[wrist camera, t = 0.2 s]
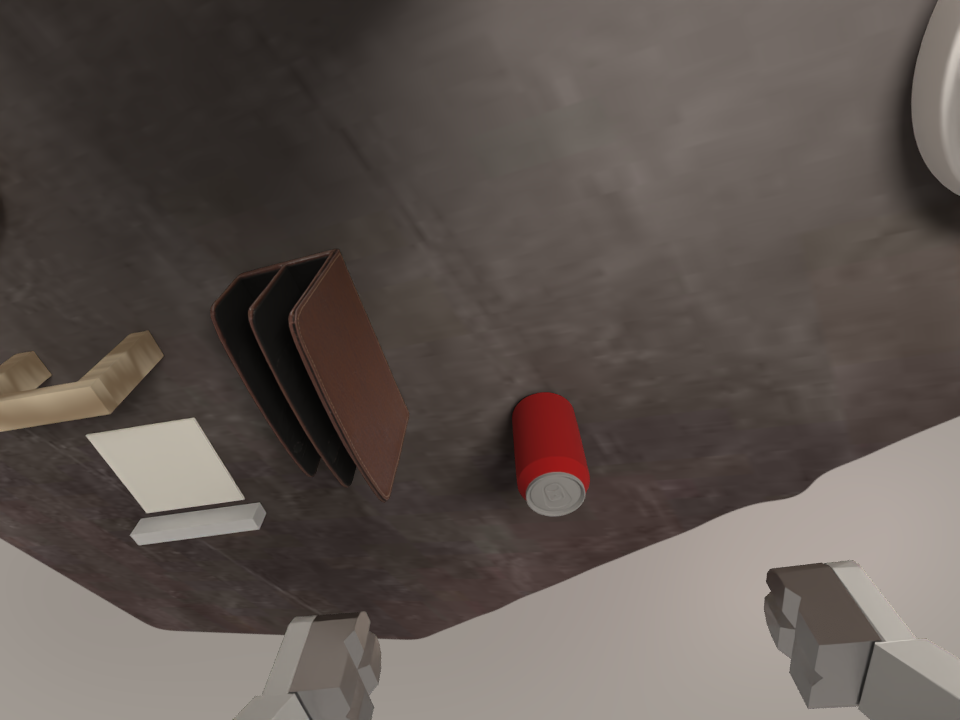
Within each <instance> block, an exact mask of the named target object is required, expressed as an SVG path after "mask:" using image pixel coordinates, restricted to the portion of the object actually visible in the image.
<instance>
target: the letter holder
mask: <svg viewBox="0 0 960 720" xmlns="http://www.w3.org/2000/svg"><path fill="white" fill-rule="evenodd" d="M210 314H211V319H212V322H213V325H214V327H215V330H216V332H217V334H218V337H219V339H220V341H221V343H222V345H223V346H224V348H225V350H226V352H227V354H228V356H229V358H230V359H231V361H232V363H233V365H234V367H235V368H236V370H237V372H238V374H239V375H240V377H241V379H242V381H243V383H244V384H245V386H246V388H247V390H248V391H249V393H250V395H251V396H252V398H253V399H254V401H255V403H256V404H257V406H258V408H259V409H260V411H261V412H262V414H263V416H264V417H265V419H266V420H267V422H268V424H269V425H270V427H271V428H272V430H273V431H274V433H275V434H276V436H277V438H278V439H279V441H280V442H281V443H282V445H283V446H284V448H285V449H286V451H287V452H288V454H289V455H290V456H291V458H292V459H293V460H294V462H295V463H296V464H297V465H298V466H299V468H300V469H301V470H302V471H303V472H304V473H305V474H306V475H307V476H309V477H313V476H314V475H315V473H316V471H317V467H318V464H319V461H320V458H322V459H323V461H324V462H325V464H326V465H327V467H328V468H329V469H330V471H331V472H332V473H333V475H334V476H335V477H336V478H337V480H338V481H339V482H340V484H341V485H342V486H344V487H349V486H350V485H351V483H352V480H353V477H354V473H355V469H356V466H357V468H358V469H359V471H360V473H361V474H362V476H363V477H364V479H365V480H366V482H367V483H368V485H369V486H370V488H371V489H372V491H373V492H374V494H375V495H376V496H377V498H378V499H379V500H380V501H382V502H386V501H387V500H388V499H389V498H390V494H391V490H392V486H393V481H394V478H395V473H396V470H397V467H398V463H399V459H400V455H401V450H402V445H403V440H404V436H405V432H406V428H407V423H408V420H409V412H408V409H407V407H406V405H405V403H404V400H403V398H402V396H401V394H400V392H399V389H398V387H397V385H396V382H395V380H394V378H393V375H392V373H391V371H390V368H389V366H388V363H387V361H386V359H385V356H384V354H383V351H382V349H381V346H380V344H379V342H378V339H377V337H376V335H375V333H374V330H373V328H372V326H371V323H370V321H369V319H368V316H367V314H366V312H365V309H364V307H363V305H362V302H361V300H360V298H359V295H358V293H357V291H356V288H355V286H354V284H353V281H352V279H351V277H350V275H349V272H348V270H347V268H346V265H345V262H344V260H343V258H342V255H341V253H340V250H339V249H333V250H329V251H325V252H321V253H317V254H314V255H309V256H306V257H302V258H298V259H294V260H290V261H287V262H282V263H278V264H275V265H271V266H267V267H263V268H259V269H256V270H252V271H248V272H245V273H242V274H240V275H239V276H238V277H236V279H234V281H233V282H232V283H231V284H230V285H229V286H228V288H227V289H226V290H225V292H224V293H223V294H222V295H221V296H220V297H219V298H218V299H217V300H216V301H215V302H214V303H213V305H212V307H211V310H210Z"/></svg>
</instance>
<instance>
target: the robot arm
mask: <svg viewBox="0 0 960 720" xmlns="http://www.w3.org/2000/svg"><path fill="white" fill-rule="evenodd" d="M766 582H767V584H768V586H769V588H770V590H771V592H770V593H769V594H768V595H767V596H766V597H765V603H764V612H765V617H766V622H767V626H768V628H769V631H770V633H771V636H772V638H773V640H774V642H775V645H776V647H777V648H778V650H780V651H781V652H782V653H784V654H785V655H786V656H788V657H789V658H790V659H791V664H790V672H789V673H790V674H791V676H792V678H793V680H794V682H795V684H796V686H797V688H798V690H799V692H800V694H801V696H802V698H803V699H804V702H805V704H806V706H807V708H808V709H814V708H835V707H856V706H859V708H858V709H859V710H860V711H861V712H862V713H863V714H864V715H866V716H867V717H868V718H869V719H870V720H960V658H958V657H956V656H955V655H953V654H951V653H950V652H948V651H946V650H945V649H943V648H941V647H940V646H938V645H936V644H935V643H933V642H931V641H930V640H928V639H926V638H918V639H917V638H916V637H915V636H914V634H913V633H912V632H911V631H910V629H909V628H908V627H907V625H906V624H905V623H904V621H903V620H902V619H901V618H900V616H899V615H898V614H897V612H896V611H895V610H894V609H893V607H892V606H891V605H890V603H889V602H888V601H887V600H886V598H885V597H884V596H883V594H882V593H881V592H880V591H879V589H878V588H877V587H876V585H875V584H874V583H873V581H872V580H871V579H870V578H869V576H868V575H867V574H866V572H865V571H864V570H863V569H862V567H861V566H860V565H859V564H858V563H856V562H855V561H853V560H852V561H840V562H831V563H824V564H823V563H816V564H807V565H800V566H790V567H782V568H773V569H770V570H769V571H768V573H767V580H766ZM369 626H370V620H369V618H368V615H367V613H366V612H353V613H339V614H326V615H313V616H302V617H295V618H294V619H293V620H292V621H291V623H290V624H289V625H288V628H287V631H286V633H285V636H284V639H283V641H282V644H281V647H280V649H279V651H278V654H277V657H276V659H275V662H274V665H273V667H272V670H271V672H270V675H269V678H268V680H267V683H266V686H265V688H264V691H263V693H262V696H256V697H254V698H253V699H252V700H251V701H250V702H249V703H248V704H247V705H246V706H245V707H244V708H243V709H242V710H241V712H239V714H238V715H237V716H236V717H235V718H234V719H233V720H371V719H372V714H373V709H374V706H373V704H372V702H371V699H370V697H369V695H370V694H371V693H372V691H373V690H374V689H375V688H376V686H377V685H378V683H379V678H380V672H381V651H380V645H379V642H378V639H377V636H376V635H375V634H373V633H371V632H370V631H369Z"/></svg>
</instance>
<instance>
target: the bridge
mask: <svg viewBox="0 0 960 720" xmlns="http://www.w3.org/2000/svg"><path fill="white" fill-rule="evenodd" d="M163 357H164V355H163V353H162V352H161V350H160V348H159V347H158V345H157V343H156V342H155V340H154V339H153V337H152V335H151V334H150V332H149V331H143V332H138V333H132V334H129V335H128V336H127V337H126V338H125V339H124V340H123V341H122V342H121V343H119V344H118V345H117V346H116V347H115V348H114V349H113V350H112V351H111V352H110V353H109V354H107V355H106V356H105V357H104V358H103V359H102V360H101V361H100V362H99V363H98V364H96V365H95V366H94V367H93V368H92V369H91V370H90V371H89V372H88V373H87V374H86V375H84V376H83V377H82V378H81V379H80V380H79V381H78V382H73V383H67V384H61V385H55V386H49V387H43V388H37V387H38V386H40V385H41V384H42V383H43V382H44V381H45V380H47V379H48V378H49V377H50V376H51V375H52V374H51V373H50V372H49V371H48V369H47V368H46V367H45V365H44V364H43V363H42V361H41V360H40V359H39V358H38V356H37V355H36V354H35V352H34V351H30V352H25V353H19V354H15V355H14V356H12V357H11V358H10V359H8V360H7V361H6V362H4V363H3V364H1V365H0V432H2V431H8V430H14V429H20V428H27V427H33V426H39V425H45V424H51V423H58V422H64V421H70V420H76V419H82V418H89V417H95V416H101V415H107V414H111V413H112V412H113V411H114V410H115V409H116V407H117V406H118V405H119V404H120V403H121V402H122V401H123V400H124V399H125V398H126V397H127V396H128V394H129V393H130V392H131V391H132V390H133V389H134V388H135V387H136V386H137V385H138V384H139V383H140V381H141V380H142V379H143V378H144V377H145V376H146V375H147V374H148V373H149V372H150V371H151V370H152V368H153V367H154V366H155V365H156V364H157V363H158V362H159V361H160V360H161V359H162V358H163ZM36 388H37V389H36Z"/></svg>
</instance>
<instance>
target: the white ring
mask: <svg viewBox="0 0 960 720" xmlns="http://www.w3.org/2000/svg"><path fill="white" fill-rule="evenodd" d="M911 110H912V124H913V130H914V136H915V139H916V142H917V146H918V149H919V152H920V154H921V156H922V158H923V160H924V162H925V164H926V165H927V167H928V168H929V170H930V171H931V173H932V174H933V175H934V176H935V177H936V178H937V179H938V180H939V181H940V182H941V184H942V185H944V186H945V187H947V188H948V189H949V190H951V191H952V192H953V193H955V194H957V195H959V196H960V0H938V2H937V4H936V6H935V8H934V11H933V13H932V15H931V18H930V20H929V23H928V26H927V28H926V31H925V34H924V37H923V39H922V43H921V47H920V50H919V54H918V58H917V61H916V67H915V72H914V78H913V85H912V98H911Z"/></svg>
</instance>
